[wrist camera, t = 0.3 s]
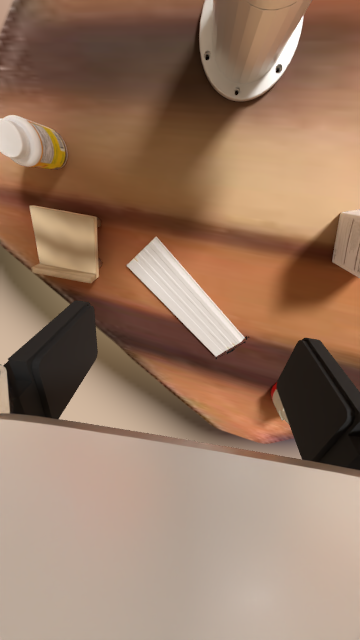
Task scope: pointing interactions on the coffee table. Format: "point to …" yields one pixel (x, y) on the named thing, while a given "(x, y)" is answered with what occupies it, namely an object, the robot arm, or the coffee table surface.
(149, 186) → the coffee table surface
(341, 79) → the coffee table surface
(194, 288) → the baseboard
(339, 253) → the supplement box
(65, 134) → the coffee table surface
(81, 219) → the shelf
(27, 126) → the supplement bottle
